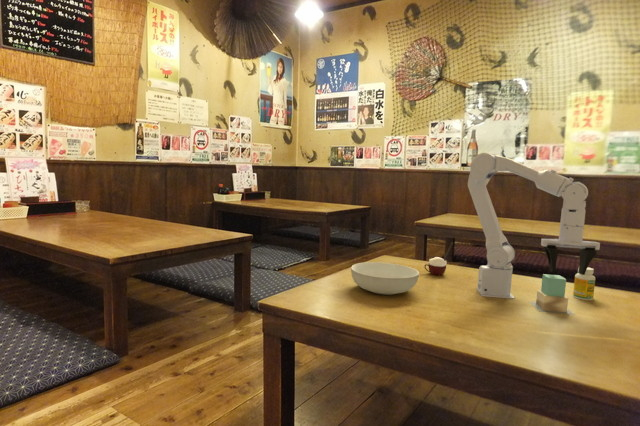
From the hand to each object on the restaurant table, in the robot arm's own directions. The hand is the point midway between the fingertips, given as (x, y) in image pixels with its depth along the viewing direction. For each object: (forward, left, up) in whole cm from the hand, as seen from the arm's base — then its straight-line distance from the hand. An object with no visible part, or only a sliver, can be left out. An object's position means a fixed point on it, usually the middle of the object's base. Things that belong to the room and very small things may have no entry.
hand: (566, 272), depth 118 cm
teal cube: (-4, -2, -6) cm, 7 cm away
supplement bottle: (+10, +12, -10) cm, 19 cm away
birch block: (-4, -2, -10) cm, 11 cm away
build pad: (-4, -2, -10) cm, 11 cm away
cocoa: (-32, +29, -10) cm, 44 cm away
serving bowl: (-51, +2, -10) cm, 52 cm away
